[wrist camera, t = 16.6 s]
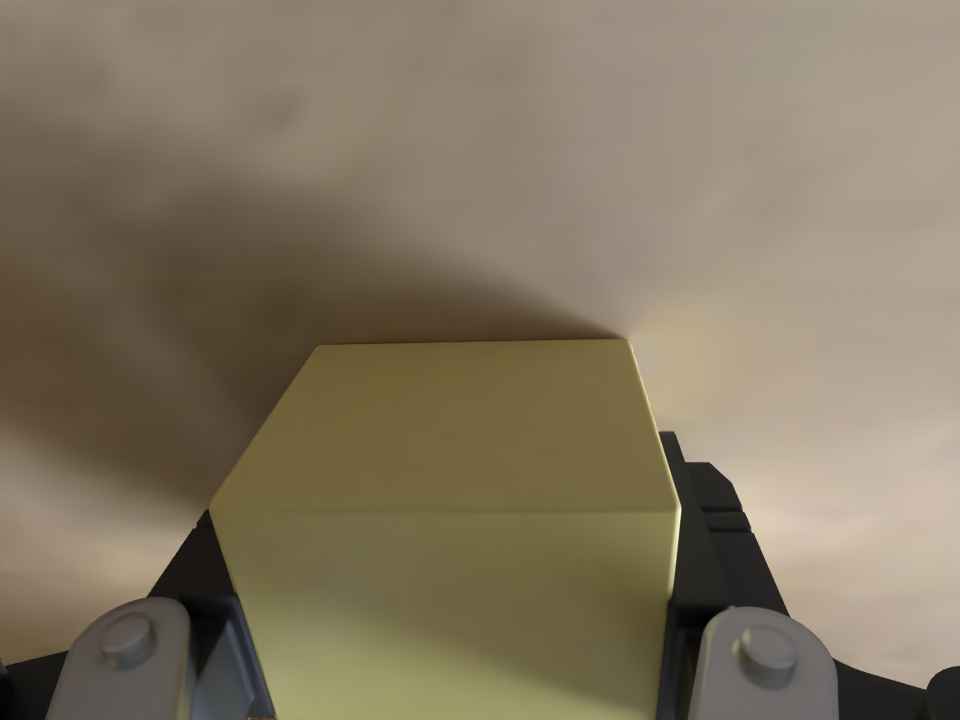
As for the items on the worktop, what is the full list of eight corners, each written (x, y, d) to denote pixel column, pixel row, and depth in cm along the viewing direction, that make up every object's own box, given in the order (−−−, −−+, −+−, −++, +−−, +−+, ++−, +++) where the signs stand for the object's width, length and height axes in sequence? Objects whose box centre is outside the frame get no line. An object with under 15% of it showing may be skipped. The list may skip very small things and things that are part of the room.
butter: (359, 571, 13) (292, 782, 9) (316, 342, 10) (202, 506, 7) (617, 574, 12) (652, 798, 9) (630, 336, 10) (683, 506, 6)
